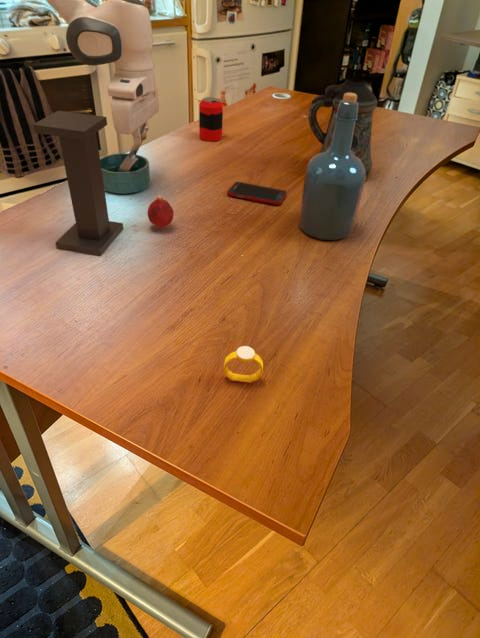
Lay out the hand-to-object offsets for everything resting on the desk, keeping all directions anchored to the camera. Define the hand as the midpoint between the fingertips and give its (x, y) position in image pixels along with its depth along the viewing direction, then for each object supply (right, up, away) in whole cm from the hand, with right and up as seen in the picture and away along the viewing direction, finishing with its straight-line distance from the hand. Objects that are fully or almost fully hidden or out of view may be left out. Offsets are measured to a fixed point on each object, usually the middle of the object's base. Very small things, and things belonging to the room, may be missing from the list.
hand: (140, 141), depth 115 cm
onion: (+7, -24, -9) cm, 26 cm away
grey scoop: (-3, -2, +2) cm, 4 cm away
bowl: (-6, -9, +8) cm, 13 cm away
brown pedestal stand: (-8, -27, -14) cm, 31 cm away
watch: (+25, -54, -43) cm, 74 cm away
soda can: (+15, +16, +39) cm, 44 cm away
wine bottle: (+45, -23, -5) cm, 51 cm away
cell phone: (+30, -12, +7) cm, 33 cm away
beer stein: (+54, -1, +22) cm, 58 cm away
